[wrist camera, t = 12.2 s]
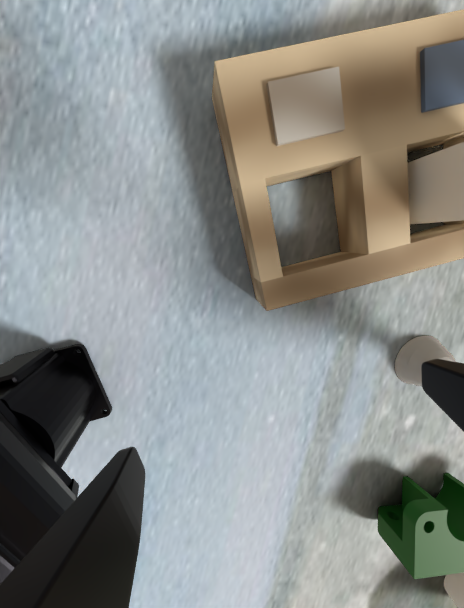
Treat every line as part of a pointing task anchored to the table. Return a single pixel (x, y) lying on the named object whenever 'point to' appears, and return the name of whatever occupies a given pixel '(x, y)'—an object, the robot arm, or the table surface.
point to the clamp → (426, 528)
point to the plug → (437, 186)
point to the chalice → (418, 358)
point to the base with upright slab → (455, 588)
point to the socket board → (343, 147)
